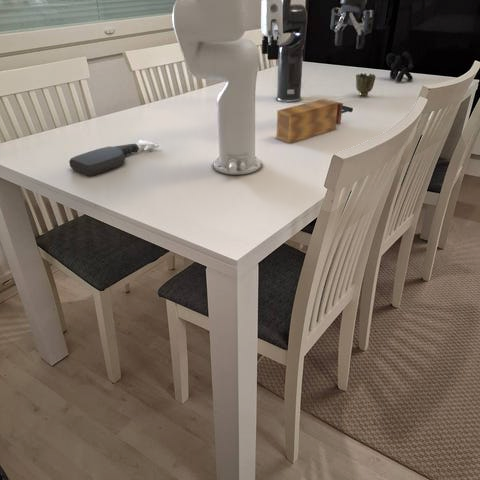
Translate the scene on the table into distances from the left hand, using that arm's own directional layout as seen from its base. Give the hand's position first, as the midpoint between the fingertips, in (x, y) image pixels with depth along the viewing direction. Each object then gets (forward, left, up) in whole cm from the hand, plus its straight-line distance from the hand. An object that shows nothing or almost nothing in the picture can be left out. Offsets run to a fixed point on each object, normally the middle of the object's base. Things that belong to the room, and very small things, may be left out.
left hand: (269, 56), depth 133 cm
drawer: (-1, -17, -21) cm, 27 cm away
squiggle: (+64, -65, -22) cm, 94 cm away
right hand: (+4, -25, +2) cm, 25 cm away
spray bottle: (-23, +44, -22) cm, 55 cm away
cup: (+38, -41, -22) cm, 60 cm away
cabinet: (-5, -12, -22) cm, 26 cm away
